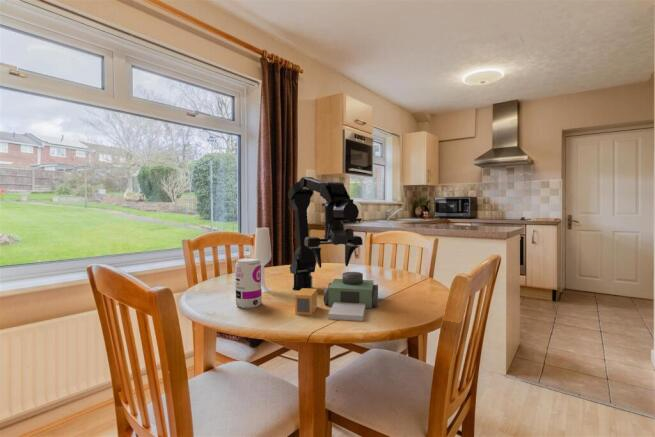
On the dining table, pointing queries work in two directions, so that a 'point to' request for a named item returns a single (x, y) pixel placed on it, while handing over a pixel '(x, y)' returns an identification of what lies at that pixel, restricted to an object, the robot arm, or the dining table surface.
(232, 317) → the dining table surface
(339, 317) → the green wheeled block
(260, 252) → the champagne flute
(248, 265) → the supplement can
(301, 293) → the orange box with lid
